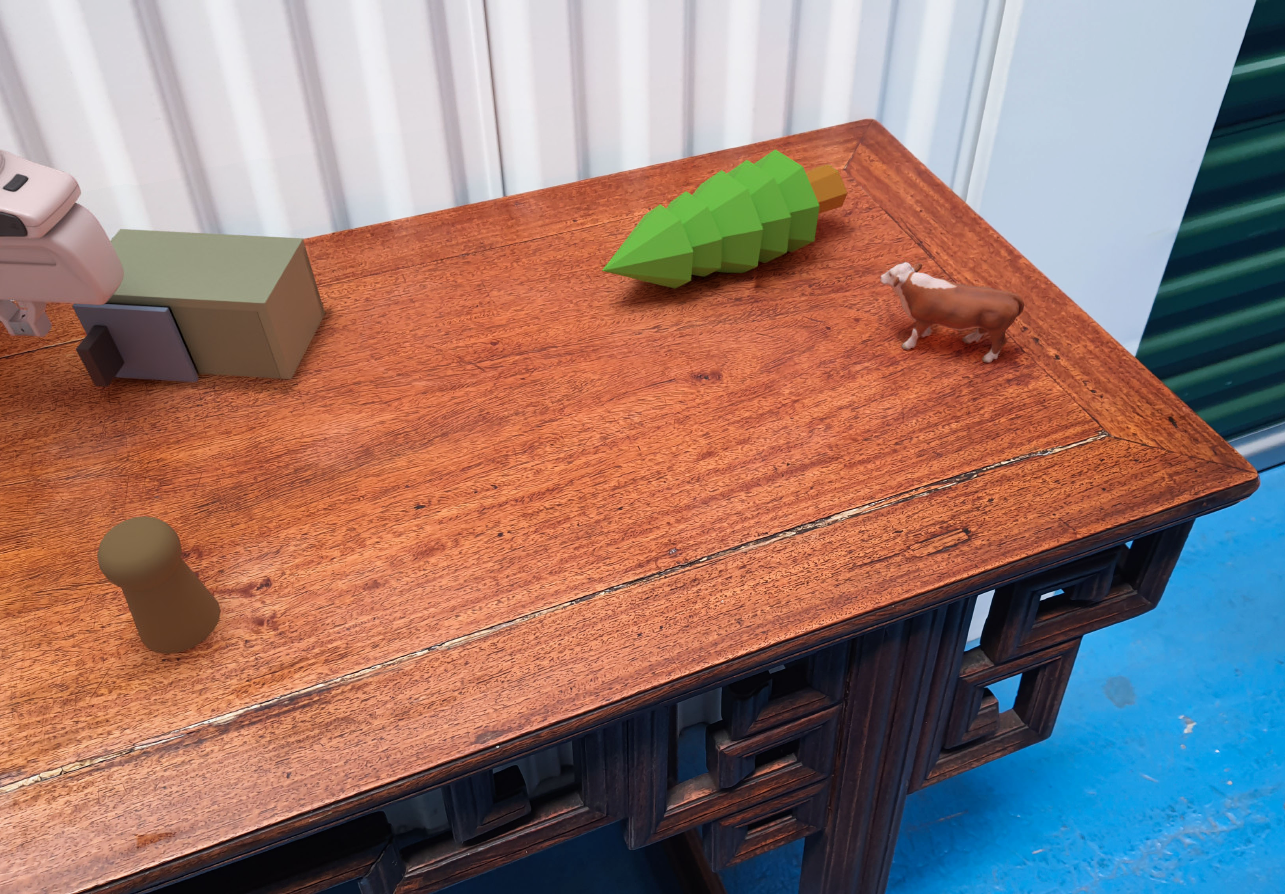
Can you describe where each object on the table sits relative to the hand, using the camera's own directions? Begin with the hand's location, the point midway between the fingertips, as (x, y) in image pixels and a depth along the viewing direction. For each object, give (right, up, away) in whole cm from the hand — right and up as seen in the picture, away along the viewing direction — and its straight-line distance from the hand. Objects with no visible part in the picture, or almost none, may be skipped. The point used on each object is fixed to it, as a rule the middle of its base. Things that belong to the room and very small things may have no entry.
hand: (32, 332), depth 87 cm
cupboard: (+12, 0, +11) cm, 16 cm away
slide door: (+7, -5, +5) cm, 10 cm away
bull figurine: (+82, 0, +11) cm, 83 cm away
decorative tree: (+62, +9, +20) cm, 65 cm away
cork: (+19, -24, -12) cm, 33 cm away
